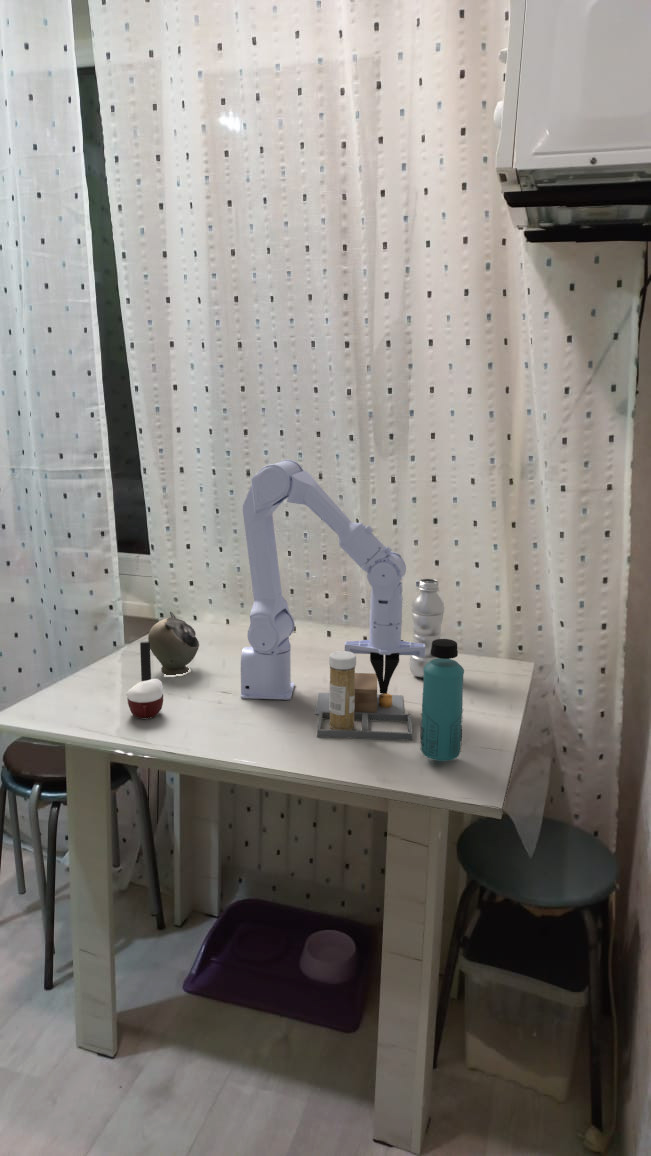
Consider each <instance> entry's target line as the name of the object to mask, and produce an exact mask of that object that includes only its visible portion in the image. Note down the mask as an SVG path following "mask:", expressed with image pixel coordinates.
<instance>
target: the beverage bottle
mask: <svg viewBox="0 0 651 1156" xmlns="http://www.w3.org/2000/svg"><path fill="white" fill-rule="evenodd" d="M458 654H459V651H458V643H457V641H455V640H453V639H449V638H440V639H436V640H434V641H433V642H432V647H431V655H432V656H434V657H436V658H437V659H433V660H431V661H430V662H429V663H427V664H426V665H425V666H424V668H423V672H424V678H422V679H423V684H422V693H421V694H422V695H421V696H422V698H421V699H422V701H421V702H422V703H421V713H420V716H421V719H420V720H421V726H420V734H419V735H420V738H419V739H420V742H419V744H420V745H419V746H420V750H421V753H422V755H423V756H425V757H426V758H427V759H429V760H430V759H431V760H433V761H439V762H446V761H452V760H453V761H454V760H455V759H457V758H458V757H459V756H460V753H461V749H462V744H463V743H462V741H463V719H464V715H463V712H464V710H463V705H464V701H463V695H464V694H463V693H464V674H465V669H464V667H463V666H462V665H461V664H460V663H459V662H458V661H456V660H454V658H457V657H458Z"/></svg>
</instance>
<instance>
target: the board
mask: <svg viewBox="0 0 651 1156" xmlns="http://www.w3.org/2000/svg"><path fill="white" fill-rule="evenodd" d="M329 696H330V692H318V693H317V698H316V699H317V700H316V705H315V711H314V716H319V715H320V711H330V710H329ZM361 713H373V712H361ZM377 713H390V714H405V710H404V699H403V695H402V694H390V693H387V694H383V693H380V694H378V693H377Z"/></svg>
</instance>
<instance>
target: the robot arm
mask: <svg viewBox="0 0 651 1156" xmlns="http://www.w3.org/2000/svg"><path fill="white" fill-rule="evenodd" d="M250 481H251V484H250V487H249V490H248V492H247V494H246V497H245V499H244V502H243V504H242V514H243V515H242V516H243V521H244V522H243V523H244V525H243V526H244V530H245V531H244V532H245V540H246V545H247V546H246V547H247V553H248V555H247V556H248V564H249V571H250V579H251V587H252V593H253V603H252V604H253V605H252V606H251V610H250V614H249V621H250V622H249V623H250V624H249V628H248V630H247V640H248V643H249V645H250V646H243V648H242V650H241V654H240V698H241V699H255V700H256V699H257V700H258V699H259V700H260V699H261V700H262V699H263V700H292V695H293V692H294V687H295V682H294V681H291V679H292V678H291V672H292V669H291V662H292V660H291V657H292V656H291V655H292V654H291V651H292V650H291V647H292V646H291V642H290V636H291V635H293V632H294V631H295V626H296V625H295V619H294V617H293V615H292V614H291V612H290V610H289V607H288V606H289V604H288V601H287V600H286V599H285V598H284V596H283V593H282V585H281V576H280V575H281V574H280V567H279V560H278V551H277V542H276V534H275V525H274V519H273V517H274V516H273V514H274V513H275V511H276V510H277V509H278V508H279V507H280V506H281V504H282V503H283V502H284V501H285V500H286V499H287V500H286V503H291V504H295V505H297V504H298V505H302V506H304V505H305V506H306V508H307V507H308V508H309V509H310V510H311V511H312V513H313V514H315V515H316V516H317V517H318V518H319V519H320V520H321V521H322V522H323V523H325V524H326V525H327V526H328V527H329V528H330V529H331V530H332V531H334V533H335V534H336V535H337V536H338V545H339V547H340V548H341V549H342V550H343V551H344V552H345V553H346V554H347V555H348V556H349V558H350V559H352V560H353V561H354V563H356V565H358V566H359V567H360V568H361V569H362V570H363V571H364V572H366V573H367V574H366V577H367V578H366V579H367V582H368V583H369V585H370V586H371V591H370V592H371V593H370V594H371V595H370V599H369V604H370V605H369V606H370V607H369V634H368V635H369V636H368V637H369V639H363V640H362V639H360V640H348V641H347V640H346V641H344V651H348V652H352V653H354V654H355V655H358V654H359V655H369V661H370V664H371V666H372V668H373V670H374V674H376V676H377V684H378V687H379V688H378V689H379V693H380V694H388V689H389V685H390V682H391V679H392V676H393V674H394V673H395V670H396V669H397V667H398V666H399V664H400V656H411V655H417V656H419V657H425V644H423V643H413V641H406V640H402V624H403V623H402V622H403V620H402V619H403V615H402V614H403V594H402V593H403V582H401V581H402V580H403V579H404V577H405V575H406V571H407V565H406V562H405V561H404V559H403V558H402V556H401V554H400V553H398V552H395V551H393V550H392V549H391V547H390V546H387V547H386V545H384V543H382V542H381V540H379V538H377V536H376V535H375V534H373V531H374V529H373V527H371V526H370V525H369V524H368V525H365V524H364V523H363V522H353V521H351V520H350V519H349V517H348V516H347V515H346V514H345V513H344V511H342V509H341V508H340V507H339V506H338V505H337V503H336V502H335V501H334V500H333V499H332V498H331V496H329V495H328V493H326V491H325V490H324V489H323V488H322V487H321V486H320V485H319V484H318V482H317V481H316V480H315V478H314V477H313V475H312V474H311V473H309V471H307V470H304V469H303V467H302V466H301V465H300V463H298V462H297V461H295V460H292V459H284V460H280V461H279V462H276V463H272V464H271V463H270V464H267V465H264V466H262V468H260V469H259V470H258V471H257V472H256V473H255V474H254V475H253V476H252V477H251V479H250Z"/></svg>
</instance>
